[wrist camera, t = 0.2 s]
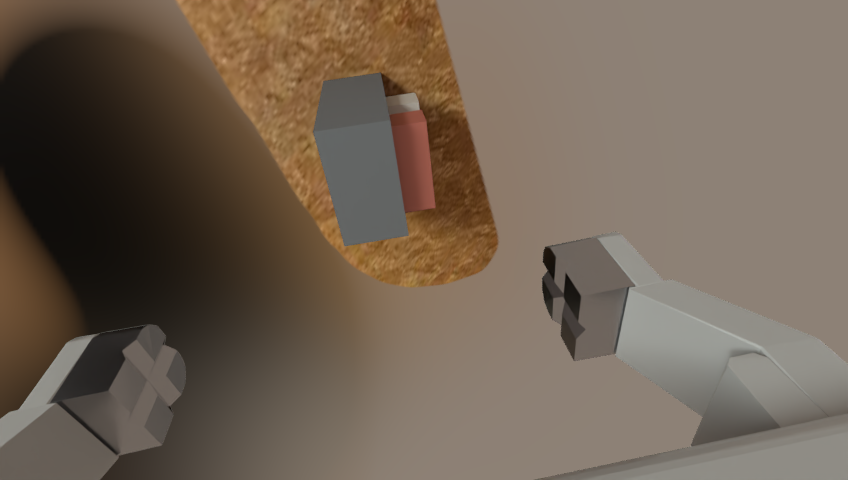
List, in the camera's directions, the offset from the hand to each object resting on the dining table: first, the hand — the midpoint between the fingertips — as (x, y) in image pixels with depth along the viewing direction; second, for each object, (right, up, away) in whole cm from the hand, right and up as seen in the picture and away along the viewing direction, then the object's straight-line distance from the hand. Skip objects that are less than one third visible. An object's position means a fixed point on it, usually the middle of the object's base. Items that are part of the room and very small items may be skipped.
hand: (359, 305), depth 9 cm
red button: (0, +11, +38) cm, 39 cm away
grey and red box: (-7, +16, +46) cm, 49 cm away
